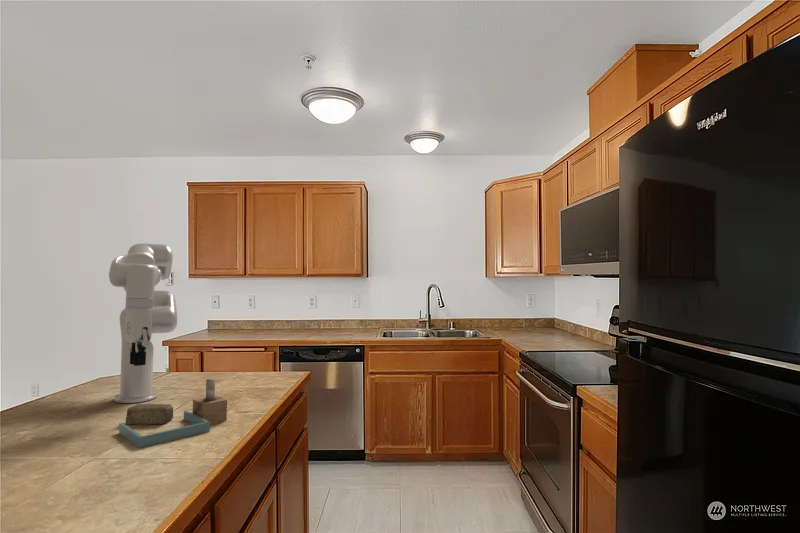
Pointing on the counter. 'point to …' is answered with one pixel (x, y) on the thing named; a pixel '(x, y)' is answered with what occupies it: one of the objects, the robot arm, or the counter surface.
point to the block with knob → (211, 405)
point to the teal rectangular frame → (155, 438)
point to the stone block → (149, 414)
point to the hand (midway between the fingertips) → (137, 364)
